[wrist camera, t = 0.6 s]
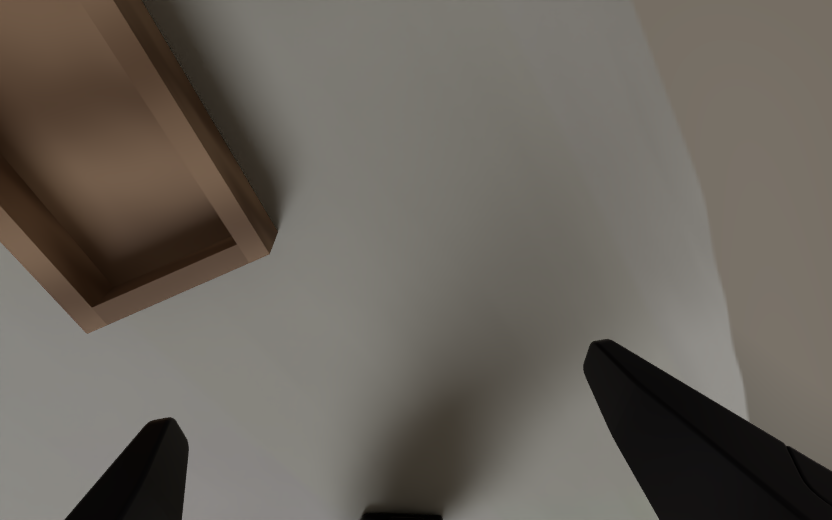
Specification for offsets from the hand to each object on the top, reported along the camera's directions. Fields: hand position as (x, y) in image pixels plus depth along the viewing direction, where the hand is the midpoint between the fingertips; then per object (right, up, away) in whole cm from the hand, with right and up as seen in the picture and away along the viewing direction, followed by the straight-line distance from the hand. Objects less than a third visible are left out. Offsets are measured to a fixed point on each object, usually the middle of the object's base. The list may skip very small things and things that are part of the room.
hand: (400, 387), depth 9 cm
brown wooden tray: (-14, +9, +9) cm, 19 cm away
